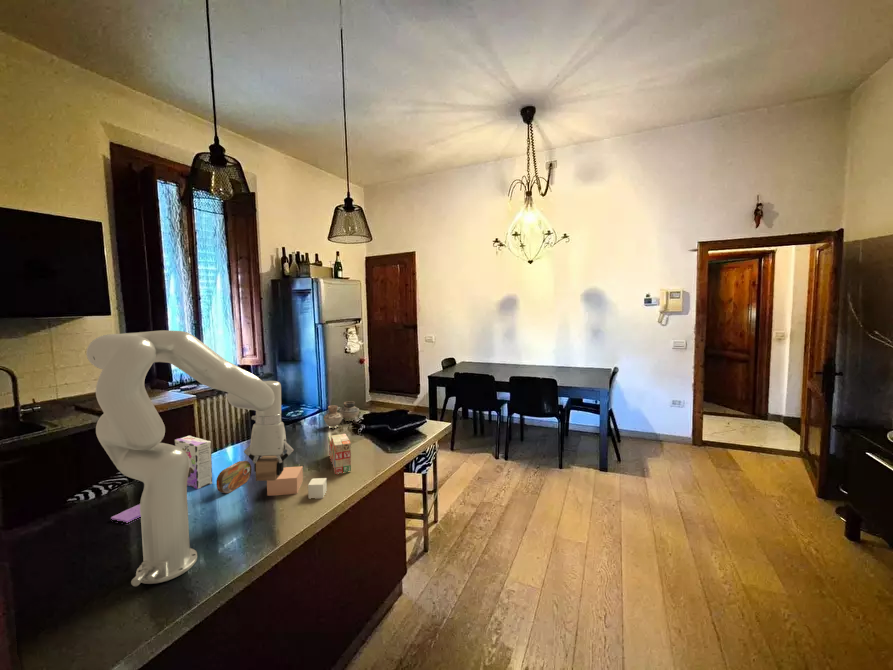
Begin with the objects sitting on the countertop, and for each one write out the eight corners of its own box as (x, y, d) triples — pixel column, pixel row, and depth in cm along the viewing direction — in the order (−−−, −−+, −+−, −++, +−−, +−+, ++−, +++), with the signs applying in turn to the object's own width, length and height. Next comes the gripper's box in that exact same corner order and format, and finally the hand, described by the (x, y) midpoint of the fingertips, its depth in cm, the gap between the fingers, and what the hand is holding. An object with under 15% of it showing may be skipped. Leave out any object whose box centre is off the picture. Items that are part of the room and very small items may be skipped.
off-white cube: (323, 498, 133) (322, 484, 133) (308, 498, 133) (308, 484, 133) (326, 491, 138) (326, 478, 138) (312, 492, 138) (312, 478, 138)
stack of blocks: (328, 456, 171) (328, 429, 170) (343, 453, 174) (342, 427, 173) (335, 475, 152) (334, 444, 151) (351, 472, 154) (350, 442, 153)
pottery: (319, 429, 209) (318, 407, 208) (347, 417, 232) (347, 397, 231) (336, 431, 205) (335, 409, 204) (363, 419, 228) (363, 399, 227)
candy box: (175, 481, 146) (173, 439, 145) (192, 475, 151) (190, 434, 150) (197, 489, 140) (195, 445, 138) (213, 483, 145) (211, 440, 144)
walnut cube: (275, 480, 124) (275, 462, 123) (255, 480, 123) (255, 462, 123) (281, 472, 130) (281, 455, 129) (263, 473, 129) (263, 455, 129)
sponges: (167, 505, 129) (167, 500, 129) (126, 526, 117) (126, 520, 117) (152, 502, 131) (152, 497, 131) (110, 522, 119) (110, 516, 119)
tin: (222, 497, 134) (221, 474, 133) (215, 496, 134) (213, 473, 134) (252, 478, 149) (251, 457, 148) (245, 478, 149) (244, 456, 149)
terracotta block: (297, 494, 137) (296, 477, 136) (267, 496, 135) (266, 479, 135) (303, 481, 147) (302, 466, 146) (275, 483, 145) (274, 468, 144)
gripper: (235, 422, 121) (236, 478, 122) (292, 422, 122) (292, 477, 123) (246, 416, 129) (247, 469, 129) (299, 416, 130) (299, 468, 131)
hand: (269, 473), depth 126 cm, fingers closed on walnut cube, 6 cm apart
